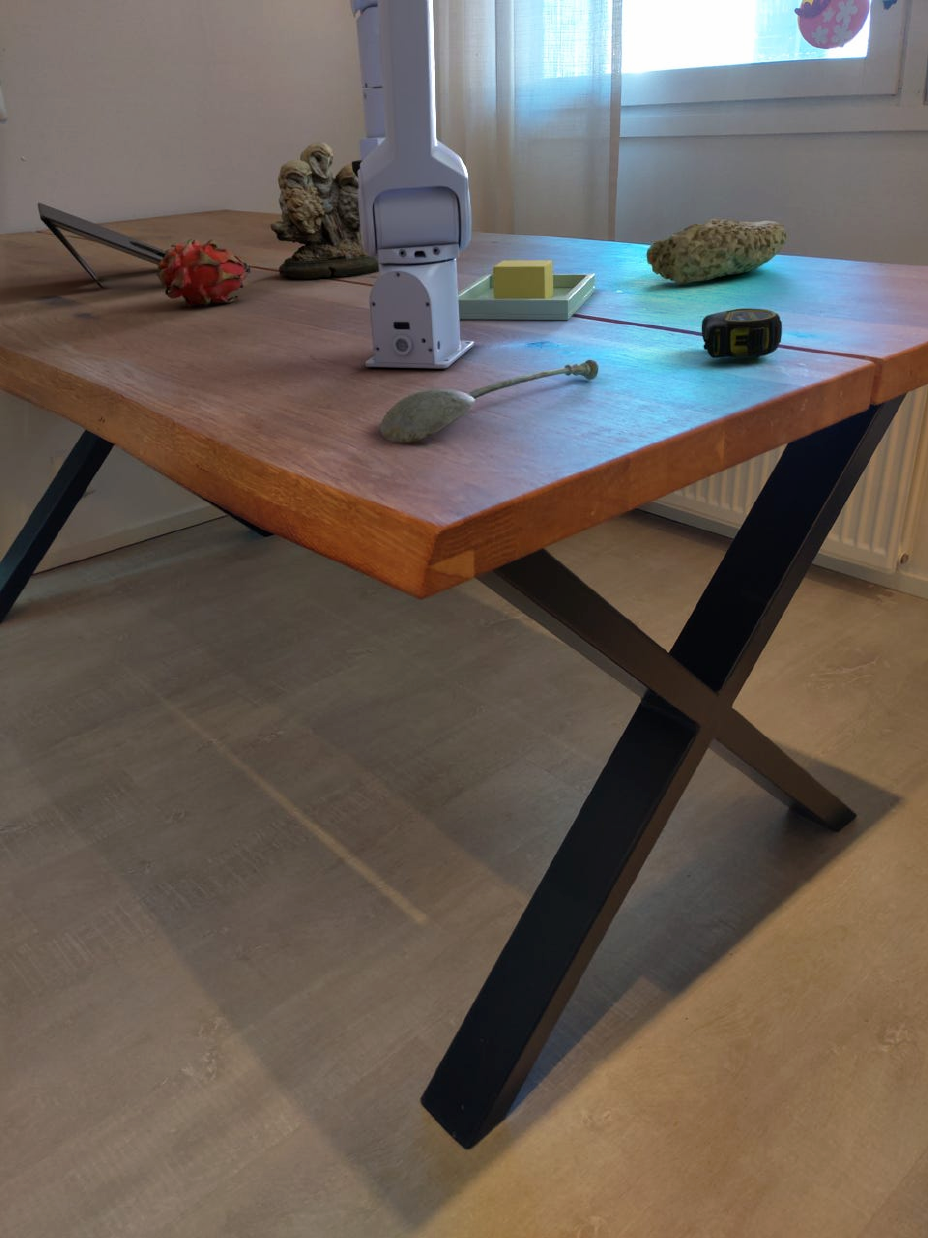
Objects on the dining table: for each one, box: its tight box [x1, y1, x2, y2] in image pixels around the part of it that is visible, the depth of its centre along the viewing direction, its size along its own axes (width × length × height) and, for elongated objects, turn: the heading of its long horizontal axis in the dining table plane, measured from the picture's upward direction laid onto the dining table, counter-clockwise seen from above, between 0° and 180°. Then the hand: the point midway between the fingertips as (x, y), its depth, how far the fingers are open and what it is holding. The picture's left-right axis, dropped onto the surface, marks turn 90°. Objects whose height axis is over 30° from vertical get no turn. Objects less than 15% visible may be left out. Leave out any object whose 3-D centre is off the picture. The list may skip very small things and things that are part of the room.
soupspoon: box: [379, 359, 599, 444], centre depth 79 cm, size 22×3×7 cm
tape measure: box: [701, 307, 783, 359], centre depth 89 cm, size 7×7×4 cm
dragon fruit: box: [156, 238, 251, 308], centre depth 126 cm, size 8×8×12 cm
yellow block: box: [492, 259, 554, 299], centre depth 116 cm, size 4×6×4 cm
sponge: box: [645, 218, 787, 285], centre depth 126 cm, size 13×8×20 cm
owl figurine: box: [269, 141, 379, 280], centre depth 142 cm, size 18×12×17 cm, turn 125°
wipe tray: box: [458, 273, 596, 321], centre depth 116 cm, size 17×14×2 cm
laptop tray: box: [37, 202, 166, 289], centre depth 146 cm, size 23×23×9 cm
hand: (400, 228), depth 110 cm, fingers open, 7 cm apart
